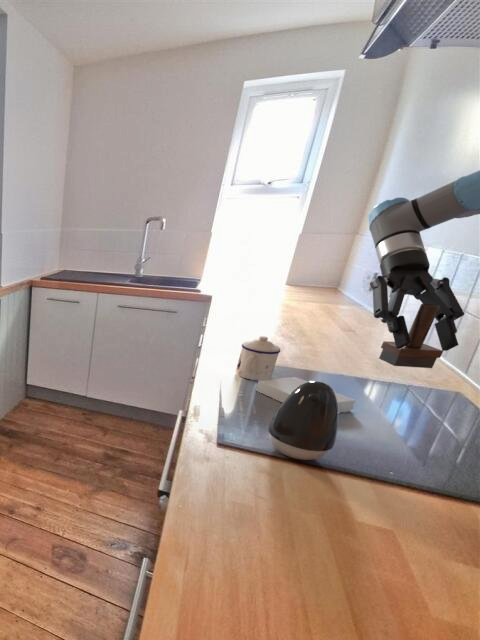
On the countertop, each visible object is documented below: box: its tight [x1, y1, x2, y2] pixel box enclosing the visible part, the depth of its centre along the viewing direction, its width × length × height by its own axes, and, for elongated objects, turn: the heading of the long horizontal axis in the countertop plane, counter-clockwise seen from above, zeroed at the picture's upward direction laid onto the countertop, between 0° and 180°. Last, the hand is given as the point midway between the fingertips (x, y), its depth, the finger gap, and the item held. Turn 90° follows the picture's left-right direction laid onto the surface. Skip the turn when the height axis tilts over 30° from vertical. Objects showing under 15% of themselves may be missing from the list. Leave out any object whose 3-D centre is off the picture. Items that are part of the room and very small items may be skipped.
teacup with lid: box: [235, 335, 281, 382], centre depth 115 cm, size 12×9×12 cm
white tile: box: [255, 376, 356, 413], centre depth 103 cm, size 15×12×3 cm
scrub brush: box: [378, 303, 444, 369], centre depth 90 cm, size 8×6×13 cm
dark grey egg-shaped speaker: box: [267, 380, 339, 461], centre depth 78 cm, size 10×10×15 cm
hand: (426, 346), depth 87 cm, fingers closed on scrub brush, 8 cm apart
